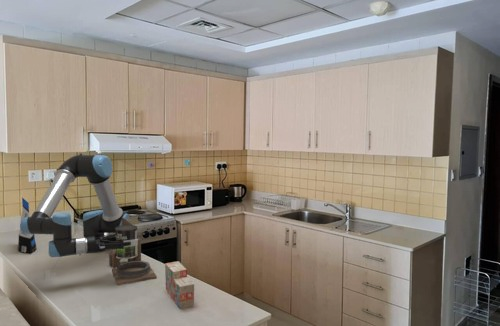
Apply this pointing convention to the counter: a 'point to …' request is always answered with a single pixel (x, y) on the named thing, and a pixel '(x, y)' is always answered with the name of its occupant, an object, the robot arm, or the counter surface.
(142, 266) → the jig
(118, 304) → the counter surface
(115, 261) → the wooden toy
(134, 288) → the counter surface
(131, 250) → the coffee can
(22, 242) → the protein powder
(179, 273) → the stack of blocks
